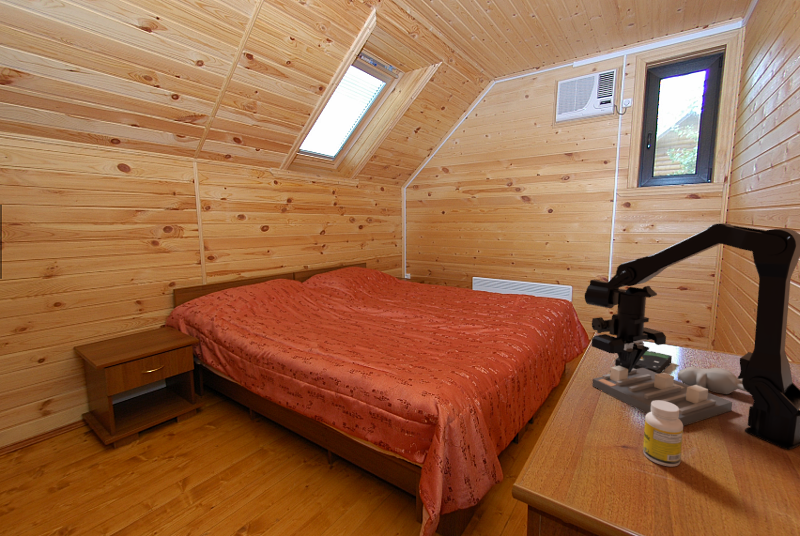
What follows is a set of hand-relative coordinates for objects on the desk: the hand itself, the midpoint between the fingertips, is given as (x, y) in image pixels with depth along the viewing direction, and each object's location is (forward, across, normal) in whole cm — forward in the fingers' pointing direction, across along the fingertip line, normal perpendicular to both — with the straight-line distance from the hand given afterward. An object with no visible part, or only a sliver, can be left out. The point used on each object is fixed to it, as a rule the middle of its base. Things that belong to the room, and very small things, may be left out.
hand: (626, 372), depth 91 cm
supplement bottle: (+4, +20, +22) cm, 30 cm away
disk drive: (+4, -17, -8) cm, 19 cm away
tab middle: (+1, -3, +7) cm, 8 cm away
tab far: (+1, +3, 0) cm, 3 cm away
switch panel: (+4, -1, +7) cm, 8 cm away
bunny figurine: (+4, -19, +10) cm, 21 cm away
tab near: (+1, -3, +14) cm, 14 cm away
